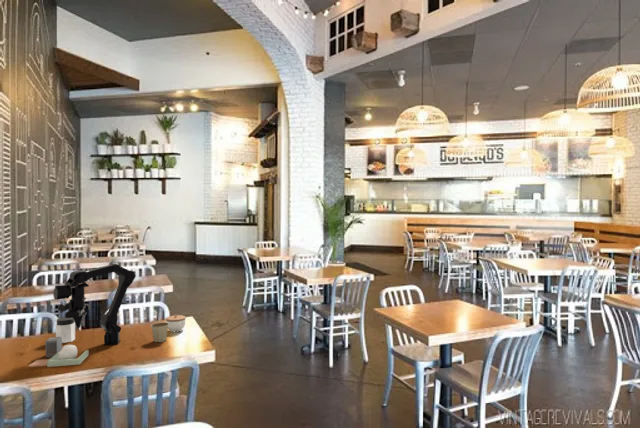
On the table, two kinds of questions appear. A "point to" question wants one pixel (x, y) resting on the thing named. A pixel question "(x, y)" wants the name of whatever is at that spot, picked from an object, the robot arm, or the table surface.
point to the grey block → (53, 346)
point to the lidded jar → (176, 322)
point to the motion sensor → (68, 352)
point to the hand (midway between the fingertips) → (78, 327)
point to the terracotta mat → (39, 363)
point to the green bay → (66, 360)
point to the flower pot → (159, 331)
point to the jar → (65, 329)
